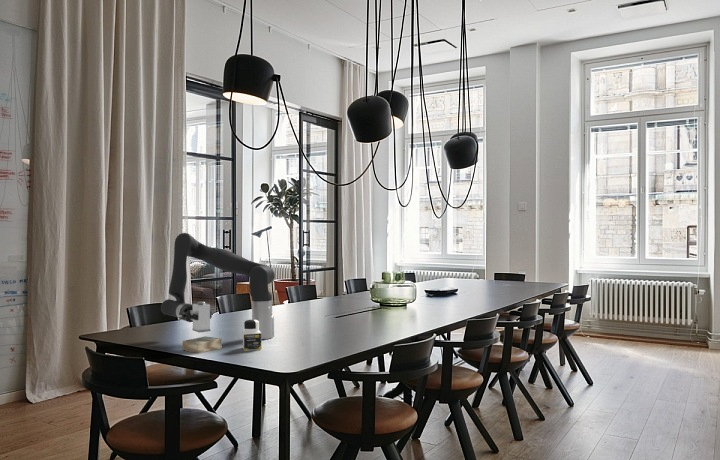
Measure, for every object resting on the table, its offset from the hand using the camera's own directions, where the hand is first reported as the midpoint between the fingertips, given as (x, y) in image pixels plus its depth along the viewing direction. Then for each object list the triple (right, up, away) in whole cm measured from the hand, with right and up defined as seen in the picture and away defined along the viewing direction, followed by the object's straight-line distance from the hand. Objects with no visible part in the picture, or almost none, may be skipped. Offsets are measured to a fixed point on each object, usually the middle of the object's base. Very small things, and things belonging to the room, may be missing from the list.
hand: (204, 317), depth 241 cm
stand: (-1, -14, +2) cm, 14 cm away
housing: (-2, -6, +2) cm, 7 cm away
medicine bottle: (+20, -14, +2) cm, 24 cm away
